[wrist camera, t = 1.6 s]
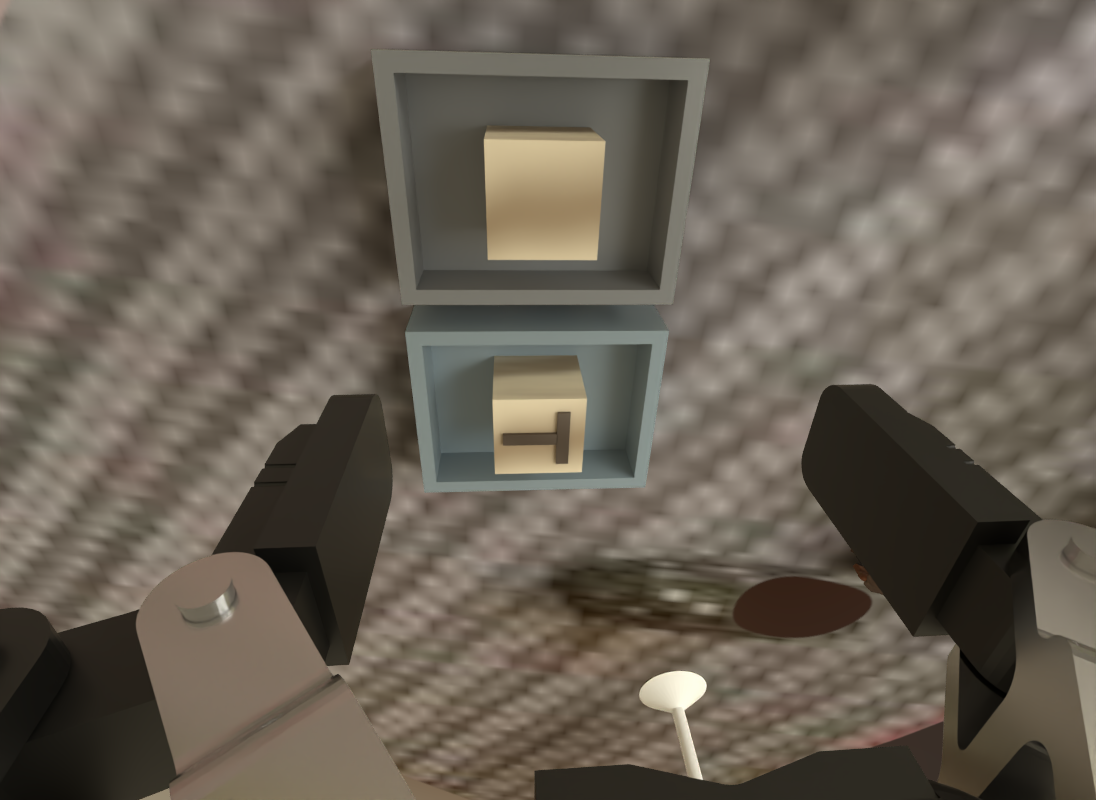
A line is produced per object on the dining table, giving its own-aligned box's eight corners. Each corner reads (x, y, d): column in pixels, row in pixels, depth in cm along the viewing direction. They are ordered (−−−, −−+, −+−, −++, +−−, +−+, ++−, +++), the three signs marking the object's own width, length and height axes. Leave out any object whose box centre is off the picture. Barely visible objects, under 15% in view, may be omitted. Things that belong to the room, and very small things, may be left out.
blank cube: (487, 125, 27) (483, 139, 23) (590, 127, 27) (605, 141, 23) (490, 229, 30) (487, 259, 25) (584, 230, 30) (597, 260, 26)
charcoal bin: (386, 49, 26) (370, 49, 23) (686, 57, 27) (710, 58, 24) (412, 280, 31) (401, 305, 28) (657, 280, 32) (672, 304, 29)
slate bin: (414, 305, 32) (405, 331, 29) (653, 305, 33) (668, 330, 30) (431, 457, 38) (424, 492, 35) (634, 453, 39) (645, 487, 36)
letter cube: (494, 355, 34) (492, 401, 29) (577, 355, 34) (587, 400, 30) (496, 424, 36) (494, 476, 32) (573, 423, 37) (582, 474, 32)
